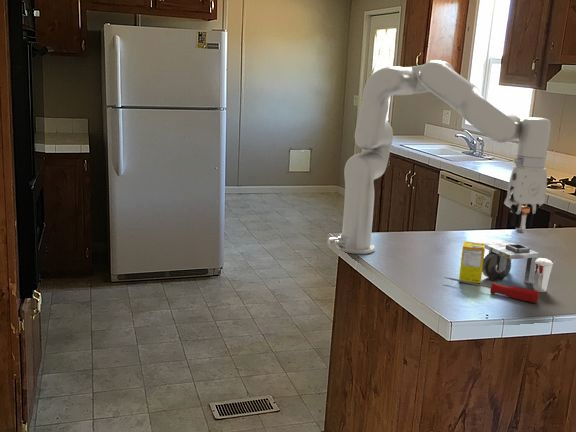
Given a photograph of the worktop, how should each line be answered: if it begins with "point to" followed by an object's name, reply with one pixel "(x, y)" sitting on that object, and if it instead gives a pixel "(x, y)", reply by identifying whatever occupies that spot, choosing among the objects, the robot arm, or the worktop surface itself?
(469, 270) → the supplement box
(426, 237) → the worktop surface
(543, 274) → the milkshake
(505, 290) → the screwdriver
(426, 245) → the worktop surface
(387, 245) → the worktop surface
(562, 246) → the worktop surface
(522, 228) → the light bulb
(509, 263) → the grey flat-topped wheeled fixture
